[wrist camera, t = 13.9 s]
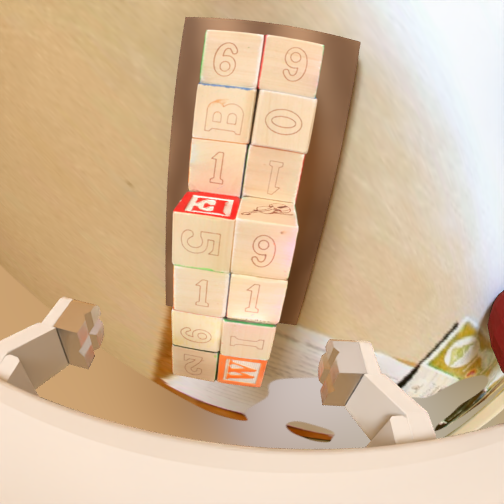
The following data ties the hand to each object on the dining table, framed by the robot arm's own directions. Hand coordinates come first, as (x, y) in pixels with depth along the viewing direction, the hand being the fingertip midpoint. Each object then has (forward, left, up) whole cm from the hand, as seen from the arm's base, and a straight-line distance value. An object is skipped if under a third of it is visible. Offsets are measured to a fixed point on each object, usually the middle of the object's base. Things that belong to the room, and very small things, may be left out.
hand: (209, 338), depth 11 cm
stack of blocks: (0, 0, -18) cm, 18 cm away
